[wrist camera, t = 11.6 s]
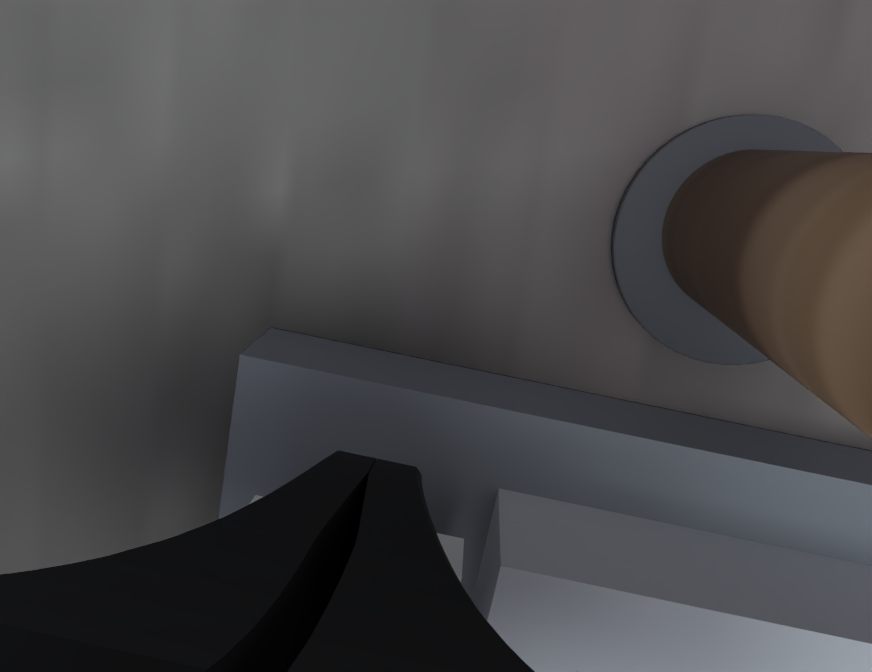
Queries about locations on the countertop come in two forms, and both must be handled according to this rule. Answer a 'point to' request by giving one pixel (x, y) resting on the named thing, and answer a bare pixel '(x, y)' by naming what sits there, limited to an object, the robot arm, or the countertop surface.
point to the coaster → (643, 222)
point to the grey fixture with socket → (587, 509)
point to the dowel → (785, 263)
